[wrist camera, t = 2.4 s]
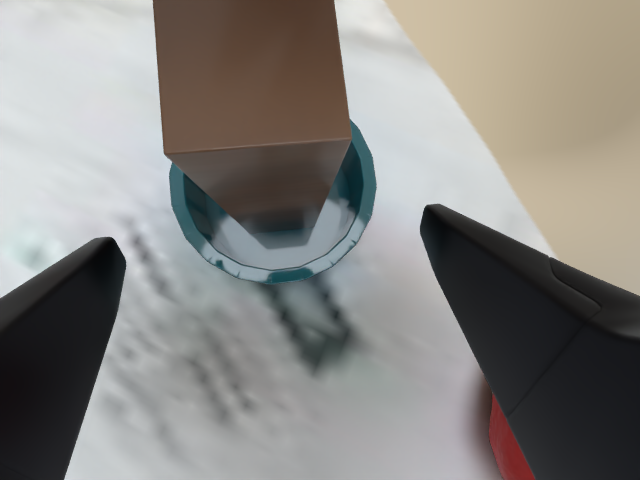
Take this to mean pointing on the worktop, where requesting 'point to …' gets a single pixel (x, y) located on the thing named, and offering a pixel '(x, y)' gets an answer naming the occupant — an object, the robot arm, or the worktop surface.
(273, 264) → the teal mug
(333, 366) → the worktop surface
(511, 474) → the pomegranate
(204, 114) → the block
